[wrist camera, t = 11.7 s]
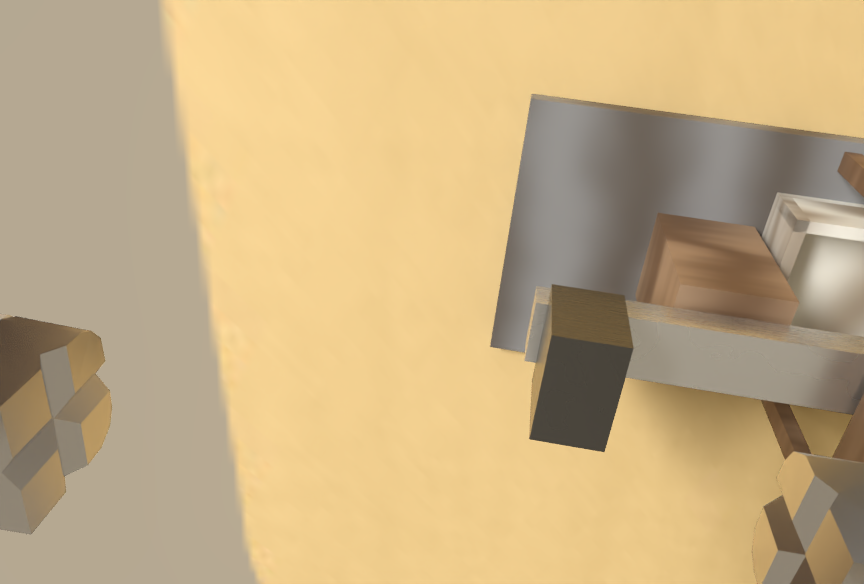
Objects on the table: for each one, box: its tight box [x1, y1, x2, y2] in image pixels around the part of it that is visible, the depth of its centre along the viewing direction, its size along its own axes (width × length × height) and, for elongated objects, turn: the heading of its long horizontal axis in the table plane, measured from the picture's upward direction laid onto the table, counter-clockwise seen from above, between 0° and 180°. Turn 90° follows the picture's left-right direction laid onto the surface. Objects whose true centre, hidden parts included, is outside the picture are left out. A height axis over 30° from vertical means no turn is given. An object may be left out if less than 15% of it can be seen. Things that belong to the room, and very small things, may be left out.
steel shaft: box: [525, 284, 864, 452], centre depth 30 cm, size 20×5×6 cm, turn 84°
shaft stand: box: [490, 94, 864, 463], centre depth 34 cm, size 24×15×14 cm, turn 84°
